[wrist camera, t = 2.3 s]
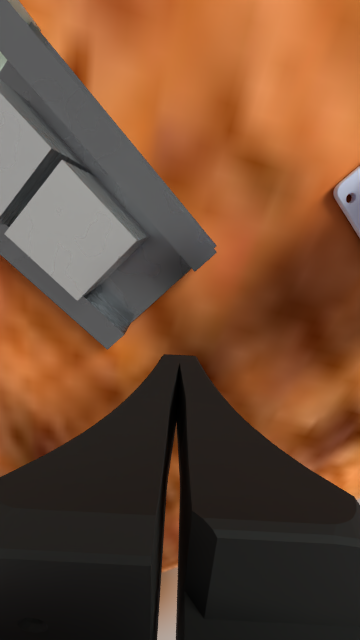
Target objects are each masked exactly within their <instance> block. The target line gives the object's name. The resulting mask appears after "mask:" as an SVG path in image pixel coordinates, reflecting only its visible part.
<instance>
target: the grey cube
mask: <svg viewBox="0 0 360 640" xmlns="http://www.w3.org/2000/svg"><path fill="white" fill-rule="evenodd" d="M4 234H5V235H6V236H7V237H8V238H9V239H10V240H12V241H13V242H14V243H15V244H16V245H17V246H18V247H19V248H20V249H21V250H22V251H24V252H25V253H26V254H27V255H28V256H29V257H30V258H31V259H32V260H33V261H34V262H36V263H37V264H38V265H39V266H40V267H41V268H42V269H43V270H44V271H45V272H46V273H48V274H49V275H50V276H51V277H52V278H53V279H54V280H55V281H56V282H57V283H58V284H60V285H61V286H62V287H63V288H64V289H65V290H66V291H67V292H68V293H69V294H70V295H72V296H73V297H74V298H75V299H76V300H77V301H78V300H79V299H81V298H82V297H83V296H85V295H86V294H88V293H89V292H91V291H92V290H93V289H95V288H96V287H98V286H99V285H100V284H102V283H103V282H104V281H105V280H106V279H107V278H108V277H109V276H110V275H111V274H112V273H113V272H114V271H115V270H116V269H117V268H118V267H119V266H120V265H121V264H122V263H123V262H124V261H125V260H126V259H127V258H128V257H129V256H130V255H131V254H132V253H133V252H134V251H135V250H136V249H137V248H138V247H139V246H140V245H141V244H142V243H143V242H144V241H145V240H146V239H147V238H148V237H149V235H148V234H147V233H146V231H145V230H144V229H143V228H142V227H141V226H140V225H139V224H138V223H137V221H136V220H135V219H134V218H133V217H132V216H131V215H130V214H129V213H128V211H127V210H126V209H125V208H124V207H123V206H122V205H121V204H120V203H119V201H118V200H117V199H116V198H115V197H114V196H113V195H112V194H111V193H110V192H109V190H108V189H107V188H106V187H105V186H104V185H103V184H102V183H101V182H100V180H99V179H98V178H97V177H95V176H93V175H91V174H89V173H87V172H85V171H83V170H81V169H79V168H77V167H75V166H73V165H71V164H70V163H68V162H66V161H64V160H61V161H60V163H59V164H58V165H57V167H56V168H55V169H54V170H53V172H52V173H51V174H50V176H49V177H48V178H47V179H46V181H45V182H44V183H43V185H42V186H41V187H40V188H39V190H38V191H37V192H36V194H35V195H34V196H33V197H32V199H31V200H30V201H29V203H28V204H27V205H26V206H25V208H24V209H23V210H22V212H21V213H20V214H19V215H18V217H17V218H16V219H15V221H14V222H13V223H12V224H11V226H10V227H9V228H8V230H7V231H6V232H5V233H4Z"/></svg>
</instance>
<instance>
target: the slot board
mask: <svg viewBox="0 0 360 640" xmlns="http://www.w3.org/2000/svg"><path fill="white" fill-rule="evenodd" d="M0 52H1V53H2V54H3V55H4V57H5V58H6V59H7V61H6V63H5V65H4V66H3V68H2V69H1V71H0V80H2V81H3V82H4V83H6V84H7V85H8V86H10V87H11V88H12V89H13V90H15V91H16V92H17V93H19V94H20V95H21V96H22V97H24V98H25V99H26V100H27V101H28V102H29V103H30V104H31V105H32V106H33V107H34V108H35V109H36V111H37V112H38V113H39V114H40V115H41V116H42V117H43V118H44V119H45V121H46V122H47V123H48V124H49V125H50V126H51V127H52V128H53V129H54V131H55V132H56V133H57V134H58V135H59V136H60V137H61V138H62V139H63V141H64V142H65V143H66V144H67V145H68V146H69V147H70V148H71V149H72V151H73V152H74V153H75V154H76V155H77V156H78V157H79V158H80V159H81V160H82V162H83V163H84V164H85V165H86V166H87V167H88V168H89V169H90V170H89V171H88V172H87V173H89V174H91V175H93V176H95V177H97V178H98V179H99V180H100V182H101V183H102V184H103V185H104V186H105V187H106V188H107V189H108V190H109V192H110V193H111V194H112V195H113V196H114V197H115V198H116V199H117V200H118V201H119V203H120V204H121V205H122V206H123V207H124V208H125V209H126V210H127V211H128V213H129V214H130V215H131V216H132V217H133V218H134V219H135V220H136V221H137V223H138V224H139V225H140V226H141V227H142V228H143V229H144V230H145V231H146V233H147V234H148V235H149V237H148V238H147V239H146V240H145V241H144V242H143V243H142V244H141V245H140V246H139V247H138V248H137V249H136V250H135V251H134V252H133V253H132V254H131V255H130V256H129V257H128V258H127V259H126V260H125V261H124V262H123V263H122V264H121V265H120V266H119V267H118V268H117V269H116V270H115V271H114V272H113V273H112V274H111V275H110V276H109V277H108V278H107V279H106V280H105V281H104V282H103V283H102V284H100V285H99V286H98V287H96V288H95V289H93V290H92V291H91V292H89V293H88V294H86V295H85V296H83V297H82V298H81V299H79V300H78V301H77V300H76V299H75V298H74V297H73V296H72V295H70V294H69V293H68V292H67V291H66V290H65V289H64V288H63V287H62V286H61V285H60V284H58V283H57V282H56V281H55V280H54V279H53V278H52V277H51V276H50V275H49V274H48V273H46V272H45V271H44V270H43V269H42V268H41V267H40V266H39V265H38V264H37V263H36V262H34V261H33V260H32V259H31V258H30V257H29V256H28V255H27V254H26V253H25V252H24V251H22V250H21V249H20V248H19V247H18V246H17V245H16V244H15V243H14V242H13V241H12V240H10V239H9V238H8V237H7V236H6V235H5V234H4V233H5V232H6V231H7V230H8V228H9V227H10V226H11V224H0V255H1V256H3V257H4V258H5V259H6V260H7V261H8V262H9V263H10V264H12V265H13V266H14V267H15V268H16V269H17V270H18V271H19V272H21V273H22V274H23V275H24V276H25V277H26V278H27V279H29V280H30V281H31V282H32V283H33V284H34V285H35V286H36V287H38V288H39V289H40V290H41V291H42V292H43V293H44V294H45V295H47V296H48V297H49V298H50V299H51V300H52V301H53V302H54V303H56V304H57V305H58V306H59V307H60V308H61V309H62V310H63V311H65V312H66V313H67V314H68V315H69V316H70V317H71V318H72V319H74V320H75V321H76V322H77V323H78V324H79V325H80V326H81V327H83V328H84V329H85V330H86V331H87V332H88V333H89V334H90V335H92V336H93V337H94V338H95V339H96V340H97V341H98V342H99V343H101V344H102V345H103V346H104V347H105V348H106V349H107V350H108V349H109V348H110V347H111V346H112V345H113V344H114V343H115V342H116V341H118V340H119V339H120V338H121V337H122V336H123V335H124V334H125V332H126V331H127V329H128V327H129V325H130V323H131V322H132V321H134V320H135V319H136V318H137V317H138V316H139V315H140V314H141V313H142V312H144V311H145V310H146V309H147V308H148V307H149V306H150V305H151V304H152V303H154V302H155V301H156V300H157V299H158V298H159V297H160V296H161V295H162V294H164V293H165V292H166V291H167V290H168V289H169V288H170V287H171V286H172V285H174V284H175V283H176V282H177V281H178V280H179V279H180V278H181V277H182V276H184V275H185V274H186V273H187V272H188V271H189V270H190V269H191V268H192V269H193V270H194V271H196V270H197V269H198V268H200V267H201V266H202V265H203V264H204V263H205V262H206V261H207V260H209V259H210V258H211V257H212V256H213V255H214V254H215V253H216V251H215V249H214V248H215V247H216V245H215V243H214V242H213V241H212V240H211V238H210V237H209V236H208V235H207V234H206V232H205V231H204V230H203V229H202V228H201V226H200V225H199V224H198V223H197V222H196V220H195V219H194V218H193V217H192V215H191V214H190V213H189V212H188V211H187V209H186V208H185V207H184V206H183V205H182V203H181V202H180V201H179V200H178V198H177V197H176V196H175V195H174V194H173V192H172V191H171V190H170V189H169V188H168V186H167V185H166V184H165V183H164V181H163V180H162V179H161V178H160V177H159V175H158V174H157V173H156V172H155V171H154V169H153V168H152V167H151V166H150V165H149V163H148V162H147V161H146V160H145V158H144V157H143V156H142V155H141V154H140V152H139V151H138V150H137V149H136V148H135V146H134V145H133V144H132V143H131V141H130V140H129V139H128V138H127V137H126V135H125V134H124V133H123V132H122V131H121V129H120V128H119V127H118V126H117V124H116V123H115V122H114V121H113V120H112V118H111V117H110V116H109V115H108V114H107V112H106V111H105V110H104V109H103V108H102V106H101V105H100V104H99V103H98V101H97V100H96V99H95V98H94V97H93V95H92V94H91V93H90V92H89V91H88V89H87V88H86V87H85V86H84V84H83V83H82V82H81V81H80V80H79V78H78V77H77V76H76V75H75V74H74V72H73V71H72V70H71V69H70V67H69V66H68V65H67V64H66V63H65V61H64V60H63V59H62V58H61V57H60V55H59V54H58V53H57V52H56V51H55V49H54V48H53V47H52V46H51V44H50V43H49V42H48V41H47V40H46V38H45V37H44V36H43V35H42V34H41V32H40V31H39V30H38V29H37V27H36V26H35V25H34V24H33V23H32V21H31V23H30V24H29V26H28V24H27V23H26V22H25V21H24V20H23V18H22V17H21V16H20V15H19V14H18V12H17V11H16V10H15V9H14V8H13V6H12V5H11V4H10V3H9V2H8V0H0Z"/></svg>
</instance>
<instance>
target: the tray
mask: <svg viewBox="0 0 360 640" xmlns="http://www.w3.org/2000/svg"><path fill="white" fill-rule="evenodd" d="M8 2H9V3H10V4H11V5H12V6H13V8H14V9H15V10H16V11H17V12H18V14H19V15H20V16H21V17H22V18H23V20H24V21H25V22H26V23H27V24H28V26H29V24H30V23H31V21H32V23H33V24H34V25H35V26H36V27H37V29H38V30H39V31H41V30H40V28H39V27H38V26H37V24H36V23H35V22H34V20H33V19H32V18H31V16H30V15H29V14H28V12H27V11H26V10H25V8H24V7H23V6H22V4H21V3H20V2H19V0H8ZM6 61H7V59H6V58H5V57H4V55H3V54H2V53H1V52H0V71H1V69H2V68H3V66H4V65H5V63H6Z"/></svg>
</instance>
